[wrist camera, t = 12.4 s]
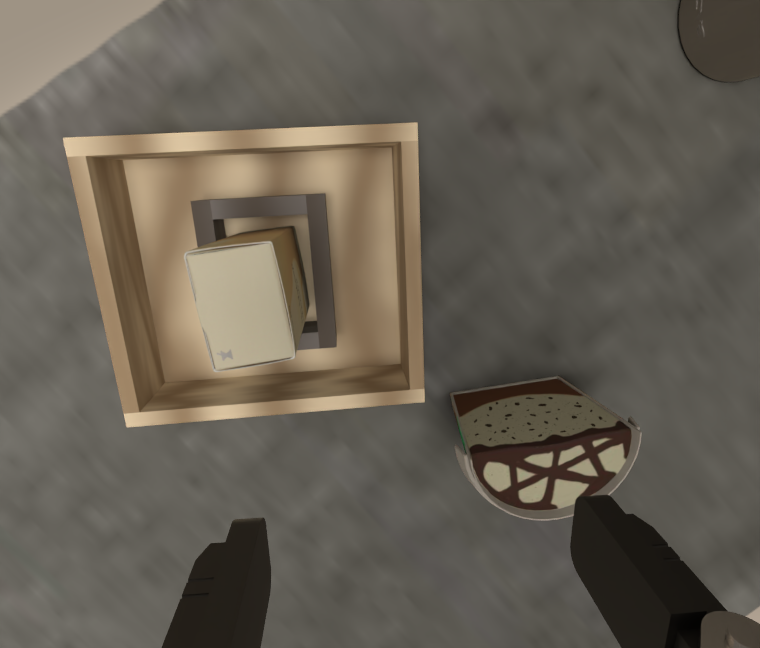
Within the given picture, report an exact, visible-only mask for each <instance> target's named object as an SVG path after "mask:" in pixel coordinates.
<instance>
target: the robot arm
mask: <svg viewBox="0 0 760 648" xmlns="http://www.w3.org/2000/svg"><path fill="white" fill-rule="evenodd" d="M679 32H680V38H681V43H682V45H683V48H684V51H685V53H686V55H687V57H688V58H689V60H690V61H691V63H692V64H693V66H694V67H695V68H696V69H698V70H699V71H700V72H701V73H702V74H703V75H705V76H707V77H709V78H711V79H713V80H717V81H722V82H739V81H743V80H747V79H751V78H755V77H759V76H760V0H681V4H680V9H679ZM570 548H571V557H572V561H573V564H574V567H575V569H576V571H577V573H578V575H579V577H580V578H581V580H582V582H583V583H584V585H585V587H586V588H587V590H588V592H589V593H590V595H591V597H592V599H593V600H594V602H595V604H596V605H597V607H598V609H599V610H600V612H601V614H602V615H603V617H604V619H605V621H606V622H607V624H608V626H609V627H610V629H611V631H612V632H613V634H614V636H615V637H616V639H617V641H618V643H619V644H620V646H621V648H760V624H759V623H757V622H755V621H753V620H752V619H749V618H747V617H745V616H743V615H740V614H737V613H733V612H728V611H727V610H726V609H725V608H724V607H723V606H722V605H721V603H720V602H719V601H718V600H717V599H716V598H715V597H714V595H713V594H712V593H711V592H710V591H709V590H708V589H707V588H706V586H705V585H704V584H703V583H702V582H701V581H700V580H699V579H698V577H697V576H696V575H695V574H694V573H693V572H692V571H691V569H690V568H689V567H688V566H687V565H686V564H685V563H684V562H683V561H681V560H680V557H679V556H678V555H677V554H676V553H675V551H674V550H673V549H672V548H671V547H668V543H667V542H666V541H665V540H664V539H663V538H662V537H661V536H660V534H659V533H658V532H657V531H656V530H655V529H654V528H653V527H652V526H650V525H649V524H647V523H646V522H644V521H643V520H641V519H640V518H638V517H637V516H635V515H634V514H625V513H624V511H623V510H622V509H621V508H620V507H619V505H618V504H617V503H616V502H615V501H614V499H613V498H612V497H611V496H609V495H594V496H580V497H578V498H577V499H576V501H575V507H574V516H573V526H572V535H571V545H570ZM270 588H271V565H270V556H269V548H268V539H267V530H266V522H265V519H264V518H251V519H236V520H233V522H232V524H231V527H230V530H229V533H228V536H227V539H226V542H224V543H211V544H210V545H209V546H208V547H207V548H206V549H205V550H204V551H203V553H202V554H201V555H200V556H199V557H198V558H197V559H196V560H195V563H194V566H193V568H192V571H191V573H190V576H189V579H188V583H187V584H186V586H185V589H184V591H183V594H182V599H180V602H179V604H178V607H177V609H176V612H175V615H174V617H173V620H172V622H171V625H170V628H169V630H168V633H167V635H166V638H165V640H164V643H163V646H162V648H260V647H261V641H262V636H263V630H264V625H265V619H266V613H267V608H268V602H269V596H270Z"/></svg>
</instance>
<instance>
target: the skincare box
mask: <svg viewBox="0 0 760 648" xmlns="http://www.w3.org/2000/svg"><path fill="white" fill-rule="evenodd" d="M184 260H185V264H186V268H187V272H188V276H189V280H190V284H191V288H192V292H193V295H194V300H195V304H196V308H197V312H198V316H199V320H200V323H201V327H202V330H203V334H204V338H205V342H206V346H207V349H208V354H209V357H210V361H211V365H212V369H213V371H214V372H221V371H228V370H235V369H242V368H248V367H255V366H261V365H267V364H272V363H277V362H282V361H287V360H292V359H294V358H295V357H296V352H297V349H298V345H299V341H300V338H301V334H302V331H303V327H304V324H305V320H306V316H307V313H308V309H309V305H310V304H309V297H308V290H307V284H306V278H305V272H304V267H303V261H302V257H301V252H300V248H299V243H298V239H297V234H296V230H295V227H294V226H285V227H277V228H269V229H261V230H254V231H248V232H242V233H238V234H235V235H232V236H229V237H226V238H224V239H221V240H218V241H215V242H212V243H209V244H207V245H204V246H201V247H198V248H195V249H192V250H189V251H186V252H185V254H184Z"/></svg>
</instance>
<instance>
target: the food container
mask: <svg viewBox="0 0 760 648" xmlns="http://www.w3.org/2000/svg"><path fill="white" fill-rule="evenodd" d="M450 398H451V403H452V407H453V411H454V414H455V418H456V421H457V425H458V428H459V432H460V435H461V439H462V442H463V446H464V449H465V452H466V454H465V453H464V452H463V451H462V450H461V449H460V448H459V447H458V446H457V445H454V446H455V451H456V456H457V459H458V462H459V464H460V467H461V469H462V471H463V472H464V474H465V476H466V477H467V479H468V480H469V481H470V482H471V484H472V485H473V486H474V487H475V488H476V489H477V490H478V491H479V493H480V494H481V495H482V496H483V497H484V498H485V499H486V500H488V501H489V502H490V503H491V504H493V505H494V506H496V507H498V508H500V509H501V510H503V511H505V512H507V513H509V514H511V515H514V516H517V517H520V518H524V519H530V520H545V521H546V520H556V519H562V518H566V517H570V516H573V515H574V507H575V501H576V499H577V498H578V497H580V496H594V495H610V494H611V493H612V492H613V491H614V490H615V489H616V488H617V487H618V486H619V485H620V484H621V482H622V481H623V480H624V479H625V477H626V476H627V474H628V473H629V471H630V469H631V468H632V466H633V464H634V461H635V459H636V457H637V454H638V451H639V447H640V443H641V435H642V432H641V431H640V430H639V428H640V427H639V426H638V424H637V423H636V422H635V421H634V419H633V418H632V417H629V419H628V422H627V421H625V420H624V419H622V418H621V417H619V416H618V415H617V414H615V413H614V412H612V411H611V410H609V409H608V408H606V407H605V406H603V405H602V404H600V403H599V402H597V401H596V400H594V399H593V398H591V397H590V396H588V395H587V394H585V393H584V392H582V391H581V390H579V389H578V388H576V387H575V386H573V385H572V384H570V383H569V382H567V381H566V380H564V379H563V378H561V377H560V376H553V377H547V378H540V379H534V380H527V381H521V382H515V383H508V384H502V385H496V386H489V387H483V388H476V389H470V390H464V391H457V392H451V393H450Z"/></svg>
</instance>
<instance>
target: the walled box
mask: <svg viewBox="0 0 760 648" xmlns="http://www.w3.org/2000/svg"><path fill="white" fill-rule="evenodd" d="M63 141H64V146H65V150H66V155H67V159H68V164H69V168H70V173H71V177H72V182H73V186H74V191H75V195H76V200H77V204H78V209H79V213H80V218H81V223H82V227H83V232H84V236H85V241H86V245H87V250H88V254H89V259H90V263H91V268H92V272H93V277H94V281H95V286H96V290H97V295H98V299H99V304H100V308H101V313H102V318H103V322H104V327H105V331H106V336H107V340H108V345H109V349H110V354H111V358H112V363H113V367H114V372H115V376H116V381H117V385H118V390H119V394H120V399H121V404H122V408H123V413H124V417H125V422H126V426H127V427H138V426H149V425H161V424H173V423H185V422H196V421H208V420H220V419H232V418H243V417H255V416H267V415H278V414H290V413H302V412H314V411H325V410H337V409H349V408H361V407H372V406H384V405H396V404H408V403H419V402H425V393H424V355H423V316H422V278H421V239H420V201H419V162H418V124H417V122H416V123H393V124H370V125H347V126H324V127H301V128H278V129H255V130H233V131H210V132H187V133H164V134H141V135H118V136H95V137H72V138H63ZM285 226H294V227H295V230H296V234H297V239H298V243H299V248H300V252H301V257H302V261H303V267H304V272H305V278H306V284H307V290H308V297H309V304H310V305H309V309H308V313H307V316H306V320H305V324H304V327H303V331H302V334H301V338H300V341H299V345H298V349H297V352H296V357H295V358H294V359H292V360H287V361H282V362H277V363H272V364H267V365H261V366H255V367H248V368H242V369H235V370H228V371H221V372H214V371H213V369H212V365H211V361H210V357H209V354H208V349H207V346H206V342H205V338H204V334H203V330H202V327H201V323H200V320H199V316H198V312H197V308H196V304H195V300H194V295H193V292H192V288H191V284H190V280H189V276H188V272H187V268H186V264H185V260H184V254H185V252H186V251H189V250H192V249H195V248H198V247H201V246H204V245H207V244H209V243H212V242H215V241H218V240H221V239H224V238H226V237H229V236H232V235H235V234H238V233H242V232H248V231H254V230H261V229H269V228H277V227H285Z"/></svg>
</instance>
